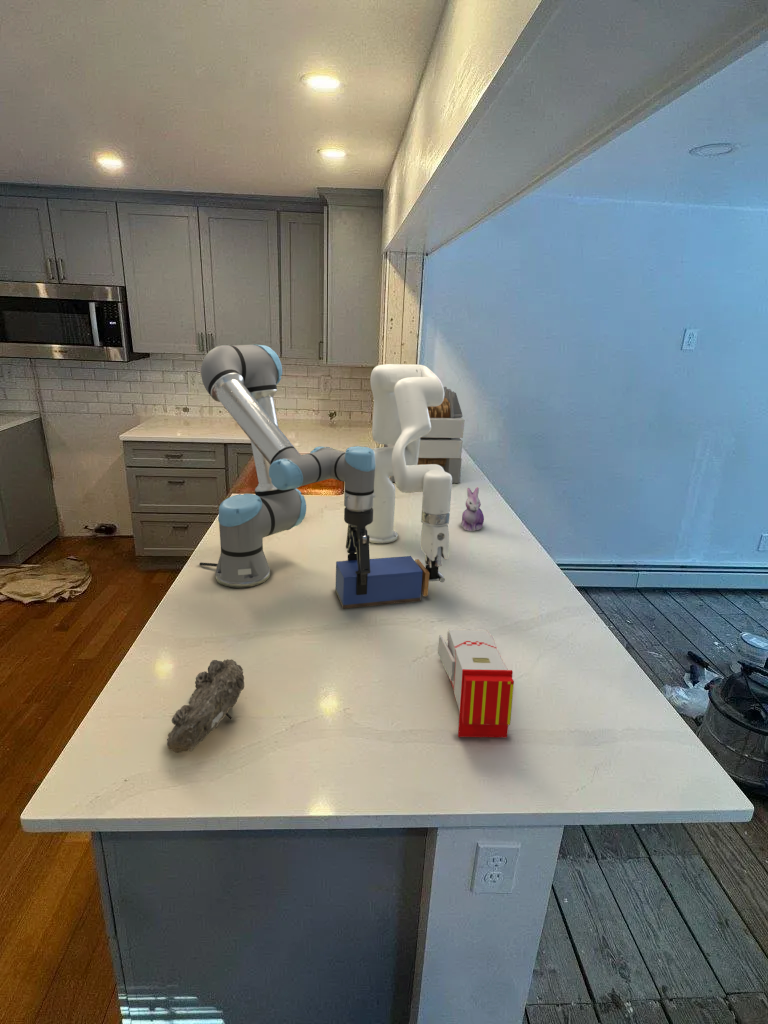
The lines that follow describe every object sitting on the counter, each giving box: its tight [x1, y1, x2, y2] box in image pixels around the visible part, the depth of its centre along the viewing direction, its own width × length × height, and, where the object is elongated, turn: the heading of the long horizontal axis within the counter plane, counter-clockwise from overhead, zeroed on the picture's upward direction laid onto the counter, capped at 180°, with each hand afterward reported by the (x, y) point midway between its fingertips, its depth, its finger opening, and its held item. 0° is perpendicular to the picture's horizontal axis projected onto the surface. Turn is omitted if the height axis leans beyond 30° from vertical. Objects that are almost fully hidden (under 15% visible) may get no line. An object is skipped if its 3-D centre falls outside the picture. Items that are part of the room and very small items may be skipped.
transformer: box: [383, 386, 465, 484], centre depth 268 cm, size 34×33×41 cm
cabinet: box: [334, 555, 423, 610], centre depth 155 cm, size 22×10×9 cm, turn 106°
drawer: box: [414, 558, 446, 597], centre depth 156 cm, size 26×9×7 cm, turn 106°
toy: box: [437, 628, 515, 738], centre depth 117 cm, size 12×13×30 cm
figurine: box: [460, 486, 485, 532], centre depth 206 cm, size 9×10×15 cm
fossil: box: [166, 658, 245, 754], centre depth 106 cm, size 22×10×15 cm
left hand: (356, 584), depth 153 cm, fingers closed on cabinet, 10 cm apart
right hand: (431, 578), depth 158 cm, fingers closed
